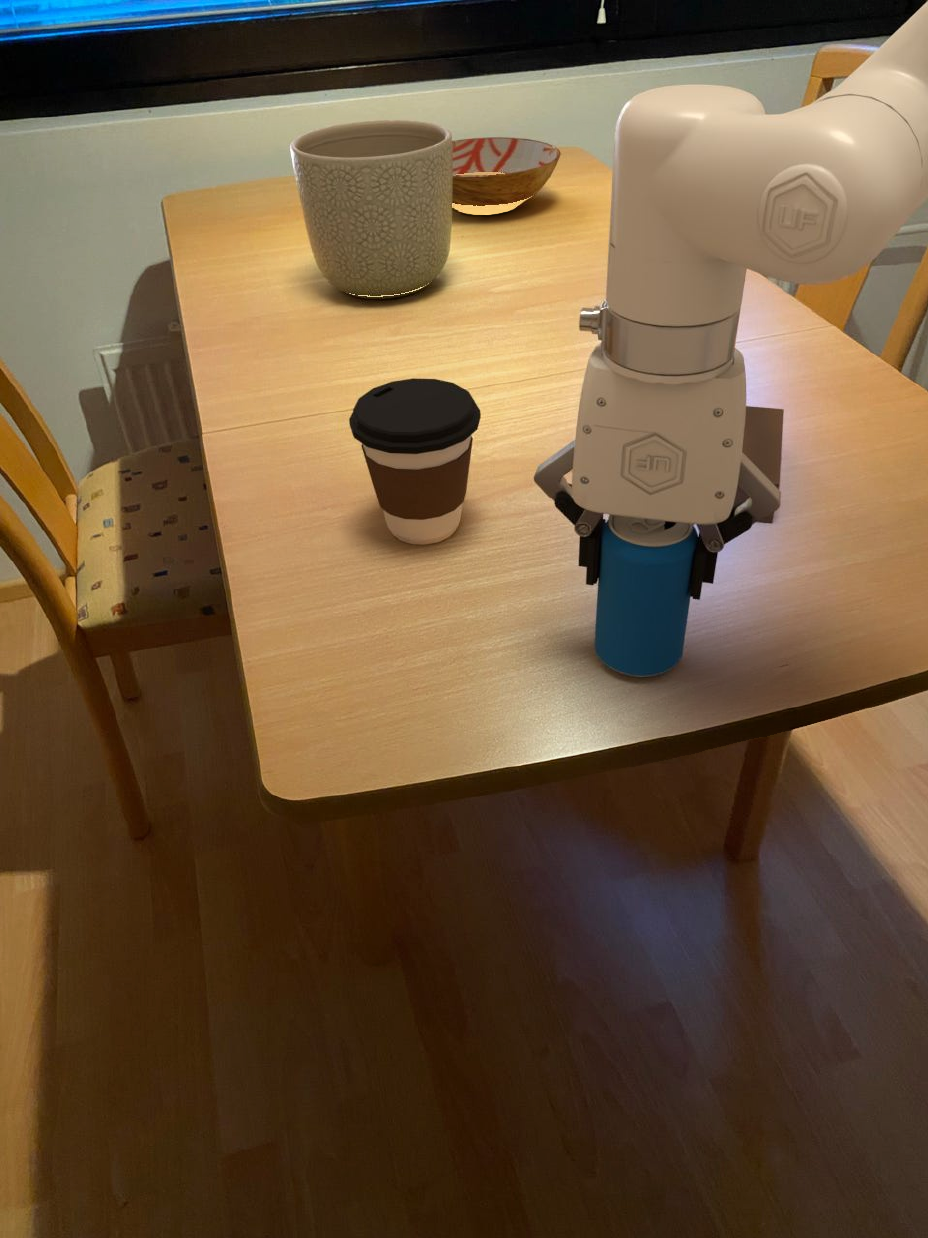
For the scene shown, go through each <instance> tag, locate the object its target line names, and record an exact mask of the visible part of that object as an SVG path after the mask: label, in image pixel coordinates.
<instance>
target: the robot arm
mask: <svg viewBox="0 0 928 1238" xmlns="http://www.w3.org/2000/svg"><path fill="white" fill-rule="evenodd" d="M614 130H615V131H614V140H613V155H612V172H611V173H612V176H611V193H610V211H609V231H608V247H607V249H608V251H607V268H606V269H607V270H606V286H605V287H606V289H605V300H602V302H601V304H600V305H595V306H594V307H581V309H580V313H579V319H578V320H579V323H578V328H579V332H591V334H592V335H597V340H598V341H600V343H598V344H597V345H596V346H595V348H594V349H593V351H592V352H591V353H590V355H589V357H588V360H587V364H586V368H585V372H584V377H583V381H582V386H581V390H580V398H579V405H578V412H577V420H576V427H575V438H574V439H573V440H572V441H571V442H570V443H568V444H566V445H565V446H563V448H560V450H558V451H557V452H556V453H554V454H552V455H551V456H550V457H548V458H547V459H545V461H543V462H542V463H539V465H538V466H537V469H536V471H535V473H534V476H533V481H534V483H535V484H536V485H537V486H538V488H540V490H541V491H542V492H543V493H544V494H545V495H546V496H547V497H548V498H549V499H551V500H552V501H553V502H554V507H555V508H556V510H558V511H559V512H560V513H561V514H562V515H563V516H564V517H565V518H566V519H567V520H568V521H569V522H570V523H571V524H572V525H573V526H574V532H575V533H576V535H578V536H579V542H578V544H579V545H578V567H582V568H586V574H585V585H587V586H594V585H598V577H599V561H600V544H601V532H602V528H603V526H604V524H605V523H606V521H607V520H606V518H604V515H605V514H606V515H609V514H610V515H618V516H626V517H634V518H643V519H651V520H660V521H669V522H678V523H688V524H694V525H696V527H697V530H698V543H697V548H696V554H695V561H694V569H693V576H692V583H691V590H690V598H692V600H697V601H701V595H702V589H703V583H705V584H712V585H713V584H714V580H715V574H716V568H717V562H718V555H719V553H720V552H721V551H723V549H724V547H725V545H726V544H728V543H729V542H731V541H733V540H734V539H736V538H737V537H740V536H741V535H742V534H744V533H746V532H748V531H750V529H752V527H753V525H754V524H756V523H760V522H759V521H761V520H762V519H764V518H765V517H767V516H768V515H770V514H771V513H773V512H774V513H775V512H776V511H778V510H779V508H780V507H781V506H782V505H781V503H782V492H781V491H780V488H779V489H778V488H777V487H776V486H775V485H774V484H773V483H772V482H771V481H770V480H769V479H768V478H767V477H766V476H765V475H764V474H763V473H762V472H761V471H760V470H759V469H758V468H757V467H756V466H755V465H754V463H753V462H752V461H751V460H750V459H749V458H748V457H747V456H746V455H745V454H744V453H743V452H742V446H743V436H744V427H745V416H746V406H747V375H746V365H745V357H744V355H743V354H742V351H740V350H739V349H738V348H736V342H737V337H738V336H737V335H738V328H739V321H740V315H741V308H742V303H743V296H744V289H745V283H746V277H747V276H746V275H747V270H749V271H752V272H755V273H757V274H760V275H763V276H764V277H765V276H766V277H768V278H771V279H774V280H778V281H781V282H785V283H790V284H795V285H805V286H820V285H821V286H822V285H827V284H832V283H838V282H839V281H842V280H844V279H846V278H849V277H851V276H853V275H856V274H857V273H858V272H860V271H861V270H863V269H865V267H867V266H868V265H870V264H871V263H872V262H873V261H874V260H875V259H876V258H877V257H878V256H879V255H880V254H881V252H883V250H884V249H885V248H886V247H887V245H888V244H890V242H891V241H892V240H893V239H894V238H895V236H896V235H897V234H898V233H899V231H900V230H901V229H902V228H903V226H904V225H905V224H906V222H907V221H908V220H909V219H910V218H911V216H913V214H914V213H915V212H916V211H917V210H918V209H919V208H920V207H921V206H922V205H923V204H924V202H926V201H927V200H928V0H927V1H926V2H925V3H924V4H923V5H922V6H921V7H920V8H919V9H918V10H917V11H915V13H914V14H912V16H910V17H909V18H908V19H907V21H905V22H904V23H903V24H902V25H901V26H900V27H899V28H898V29H897V30H896V31H895V32H894V33H893V34H892V35H891V36H890V37H888V39H886V41H885V42H884V43H882V44H881V46H879V48H877V49H876V50H875V51H874V52H873V53H872V54H871V55H869V57H868V58H866V60H865V61H863V63H861V64H860V65H859V66H858V67H857V68H856V69H855V70H854V71H853V72H851V73H850V74H849V76H847V77H846V78H845V79H844V80H843V81H842V82H840V83H839V84H838V85H837V86H836V87H834V88H833V89H831V90H830V91H827V92H826V93H824V94H823V95H821V96H820V97H819V98H817V99H816V100H814V101H813V102H811V103H809V104H808V105H804V106H802V107H799V108H796V109H793V110H791V111H787V112H784V113H777V114H766V111H765V108H764V106H763V104H762V102H761V101H760V100H759V99H758V98H757V97H756V96H755V95H754V94H753V93H750V92H748V91H745V90H743V89H741V88H738V87H733V86H726V85H719V84H718V85H717V84H698V83H697V84H675V85H666V86H659V87H654V88H650V89H648V90H647V89H646V90H645V91H642V92H639V93H637V94H635V95H634V96H633V97H631V98H630V99H629V100H627V102H626V103H625V104H624V105H623V107H622V109H621V110H620V113H619V115H618V118H617V120H616V123H615V129H614ZM571 471H572V473H571V474H572V475H571V483H570V482H568V481H567V479H566V478H565V475H566V474H567V475H568V473H570V472H571ZM737 485H738V486H739V487H740V488H741V489H742V490H743V491H744V492H745V493H746V494H747V495H748V496H749V497H750V498H749V499H747V501H746V502H744V503H739V504H737V505H736V506H734V507H733V504H734V500H735V495H736V490H737ZM719 494H720V495H719ZM718 495H719V496H718ZM732 507H733V508H732Z"/></svg>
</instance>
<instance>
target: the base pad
mask: <svg viewBox="0 0 928 1238" xmlns="http://www.w3.org/2000/svg"><path fill="white" fill-rule="evenodd" d="M784 411H785V409H784V408H776V407H775V408H774V407H773V408H772V407H763V406H750V405H746V416H745V427H744V436H743V446H742V452H743V453H744V454H745V455H746V456H747V457H748V458H749V459H750V460H751V461H752V462H753V463H754V465H755V466H756V467H757V468H758V469H759V470H760V471H761V472H762V473H763V474H764V475H765V476H766V477H767V478H768V479H769V480H770V481H771V482H772V483H773V484H774V485H775V486H776V487H777V488H778V489H779V490H780V486H781V470H782V451H783V450H782V449H783V433H784V431H783V430H784V416H785V415H784ZM719 495H720V494H719ZM719 495H718V496H719ZM749 498H750V497H749V496H748V495H747V494H746V493H745V492H744V491H743V490H742V489H741V488H740V487H739V486H738V485H737V490H736V495H735V500H734V504H733V507H734V506H736V505H737V504H739V503H744V502H746V501H747V499H749ZM733 507H732V508H733ZM774 517H775V511H774V512H773V513H771V514H770V515H768V516H767V517H765V518H764V519H762V520H761V521H759V522H758V523H769V524H772V523H773V522H774Z"/></svg>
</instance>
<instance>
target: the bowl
mask: <svg viewBox="0 0 928 1238" xmlns="http://www.w3.org/2000/svg"><path fill="white" fill-rule="evenodd" d="M561 155H562V152H561V151H560V149H559V148H558V147H557V146H555V145H552V144H550V143H548V142H544V141H541V140H536V139H529V138H520V137H507V136H505V137H503V136H498V137H497V136H496V137H474V138H465V139H464V138H463V139H457V140H452V156H453V190H452V203H455V204H461V205H473V206H476V205H477V206H485V205H499V204H508V203H513V202H517V201H520V200H524V199H527V198H529V197H531V196H533V195H534V196H536V195H537V194H538V193H539V191H540V190H541V189H542V188H543V187H544V186H545V185H546V183H547V182H548V181H549V179H550V178H551V176H552V175H553V173H554V171H555V169H556V167H557V165H558V162H559V160H560V157H561ZM474 172H501V173H502V172H503V173H505V174H496V175H456V174H464V173H474ZM537 192H538V193H537ZM534 196H533V197H534Z"/></svg>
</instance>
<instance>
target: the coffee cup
mask: <svg viewBox="0 0 928 1238" xmlns="http://www.w3.org/2000/svg"><path fill="white" fill-rule="evenodd" d="M481 418H482V415H481V409H480V408H479V406H478V404H477V402H476V400H475V399H474V398H473V396H472V395H471V392H470V391H469V390H467V389H465V388H463V387H462V386H459V385H458V384H456V383H455V382H452V381H445V380H441V379H437V378H416V377H415V378H407V379H399V380H394V381H390V382H387V383H384V384H381V385H378V386H376V387H373V388H372V389H370V390H368V391H367V392H366V393H364V394H363V395H361V396H360V397H358V399H357V401H356V402H355V405H354V407H353V408H352V413H351V415H350V416H349V418H348V421H349V423H348V424H349V429H350V431H351V434H352V437H353V438H354V439H355V440H356V441H358V442H359V443H361V446H360V447H361V449H362V453H363V456H364V459H365V463H366V466H367V469H368V473H369V477H370V480H371V483H372V487H373V489H374V492H375V496H376V499H377V502H378V504H379V507H380V509H382V512H383V516H384V519H385V522H386V525H387V528H388V530H389V531H390V532H391V534H392V535H393V536H394V537H396V538H397V539H398V540H399V541H401V542H404V543H407V544H411V545H420V546H421V545H422V546H426V545H432V544H437V543H440V542H442V541H444V540H447V539H449V538H450V537H451V536H452V535H453V534H454V533H455V532H456V531H457V529H458V527H459V525H460V523H461V518H462V512H463V504H464V502H465V498H466V494H467V489H468V480H469V472H470V466H471V465H470V464H471V457H472V448H473V442H474V439H473V436H472V435H473V434H475V432H477V430H478V429H479V425H480V421H481Z"/></svg>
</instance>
